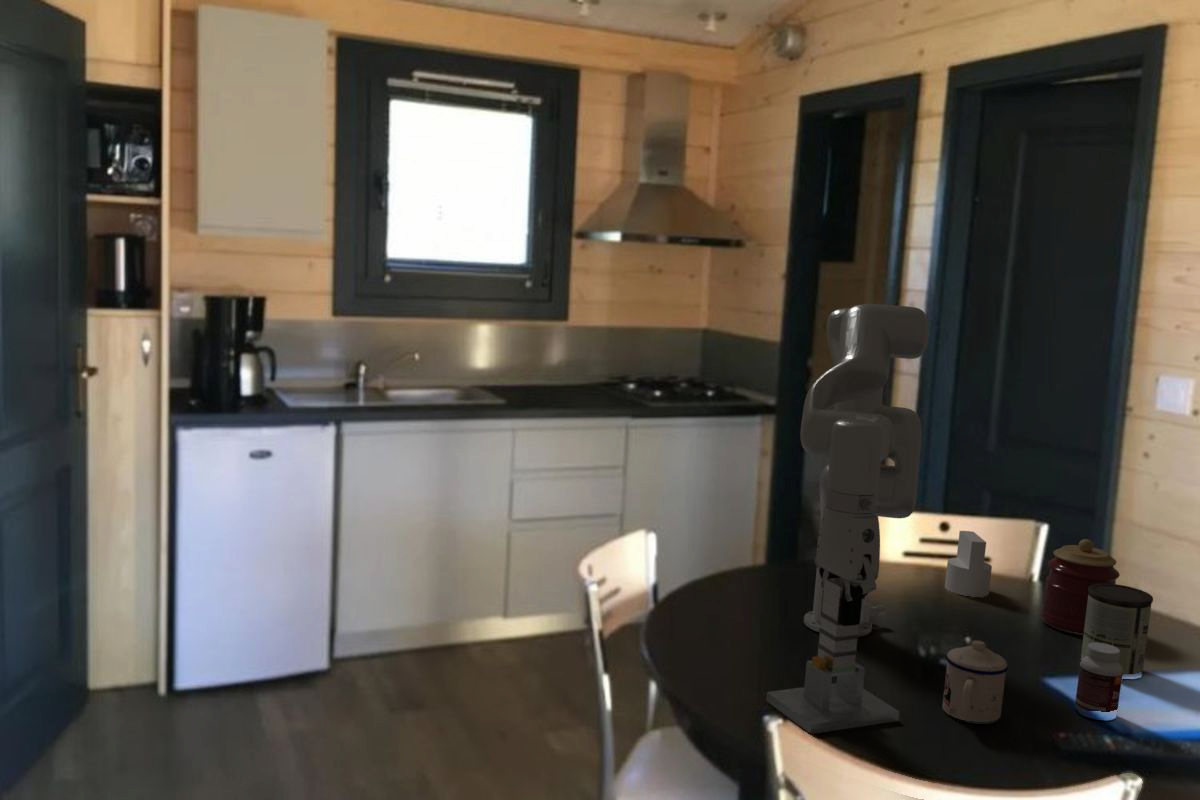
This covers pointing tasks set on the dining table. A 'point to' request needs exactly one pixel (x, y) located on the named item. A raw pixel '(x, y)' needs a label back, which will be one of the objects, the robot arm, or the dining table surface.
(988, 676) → the teacup with lid
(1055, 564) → the canister
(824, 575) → the robot arm
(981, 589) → the cylinder with rectangular tab
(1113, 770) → the dining table surface
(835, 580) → the column
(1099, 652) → the pill bottle
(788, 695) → the stand
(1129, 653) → the coffee can
